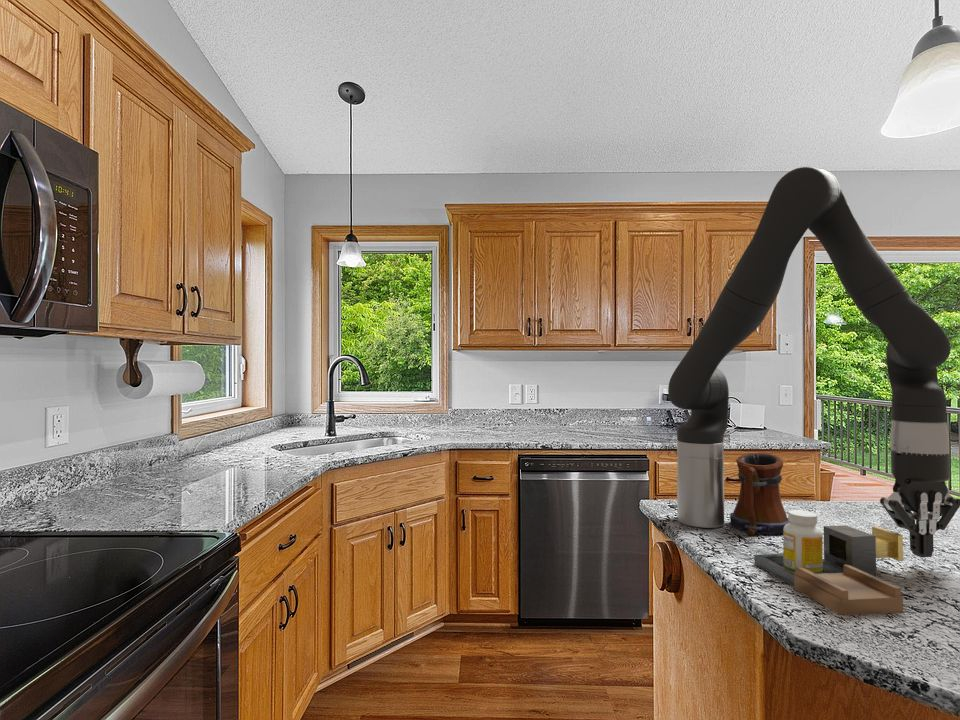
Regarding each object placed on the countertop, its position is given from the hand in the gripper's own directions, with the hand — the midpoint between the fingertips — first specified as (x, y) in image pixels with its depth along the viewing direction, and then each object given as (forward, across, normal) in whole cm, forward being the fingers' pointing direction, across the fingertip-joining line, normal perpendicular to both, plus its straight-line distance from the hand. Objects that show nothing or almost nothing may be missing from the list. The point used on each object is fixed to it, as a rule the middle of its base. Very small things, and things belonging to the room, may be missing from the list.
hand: (921, 555), depth 89 cm
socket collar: (+2, +21, 0) cm, 21 cm away
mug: (+2, +14, -23) cm, 27 cm away
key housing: (+2, +13, 0) cm, 13 cm away
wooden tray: (+2, +22, +10) cm, 24 cm away
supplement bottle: (+2, +21, 0) cm, 21 cm away
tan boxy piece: (0, +9, 0) cm, 9 cm away
